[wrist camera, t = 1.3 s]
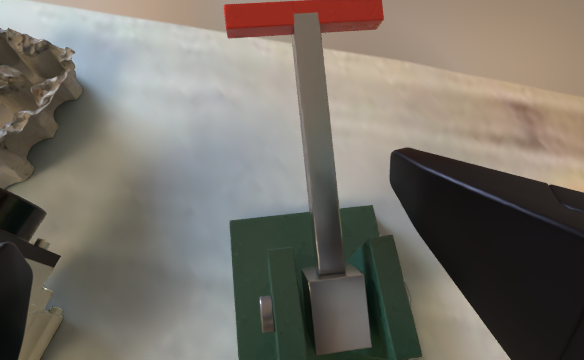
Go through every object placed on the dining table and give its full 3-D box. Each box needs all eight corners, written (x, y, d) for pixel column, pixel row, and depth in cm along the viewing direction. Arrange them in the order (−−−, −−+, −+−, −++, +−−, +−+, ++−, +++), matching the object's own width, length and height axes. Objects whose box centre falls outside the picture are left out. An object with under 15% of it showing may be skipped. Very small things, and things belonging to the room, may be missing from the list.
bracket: (231, 226, 23) (210, 165, 15) (368, 210, 24) (415, 146, 16) (246, 452, 19) (227, 536, 11) (415, 423, 20) (516, 480, 11)
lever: (226, 23, 16) (221, -6, 14) (369, 15, 17) (387, -14, 14) (258, 338, 16) (258, 364, 14) (401, 318, 17) (426, 339, 14)
